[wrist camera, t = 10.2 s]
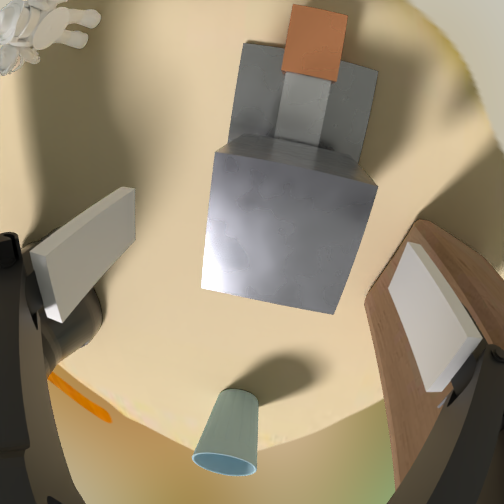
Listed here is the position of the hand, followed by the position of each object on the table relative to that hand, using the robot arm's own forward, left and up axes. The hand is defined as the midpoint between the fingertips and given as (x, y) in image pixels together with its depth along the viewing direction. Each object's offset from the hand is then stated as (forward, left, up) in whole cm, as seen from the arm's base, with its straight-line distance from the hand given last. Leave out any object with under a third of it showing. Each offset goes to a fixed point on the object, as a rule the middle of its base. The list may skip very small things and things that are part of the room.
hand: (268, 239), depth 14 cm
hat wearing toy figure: (-19, +12, -11) cm, 26 cm away
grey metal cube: (+1, 0, -8) cm, 8 cm away
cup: (+1, -30, -11) cm, 32 cm away
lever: (+1, +4, -11) cm, 12 cm away
